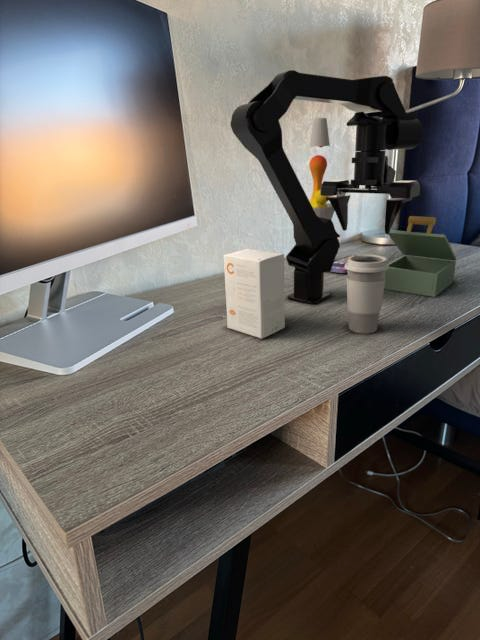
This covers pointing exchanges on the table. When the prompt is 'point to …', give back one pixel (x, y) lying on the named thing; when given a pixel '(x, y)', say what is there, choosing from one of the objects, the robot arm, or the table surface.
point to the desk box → (419, 275)
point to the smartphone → (340, 265)
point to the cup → (365, 291)
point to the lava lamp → (319, 168)
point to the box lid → (422, 241)
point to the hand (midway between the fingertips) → (365, 232)
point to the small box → (255, 292)
